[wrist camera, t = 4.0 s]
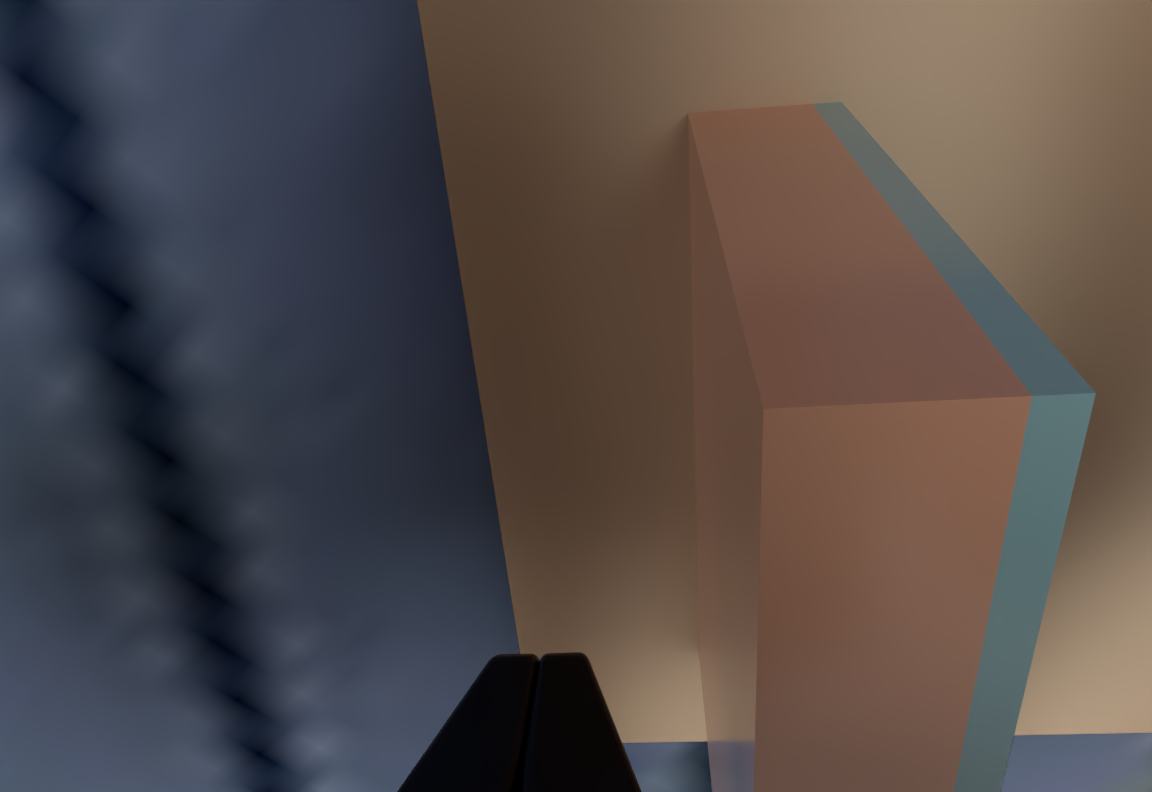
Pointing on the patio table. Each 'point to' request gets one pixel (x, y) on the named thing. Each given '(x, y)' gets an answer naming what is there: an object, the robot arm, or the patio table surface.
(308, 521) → the patio table surface
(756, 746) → the tile
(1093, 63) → the mat
